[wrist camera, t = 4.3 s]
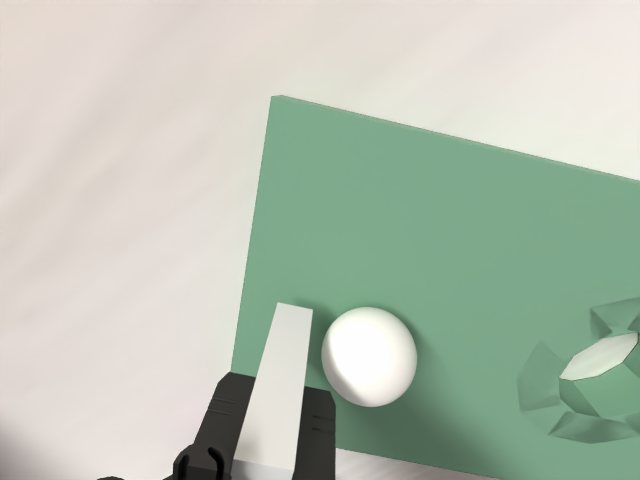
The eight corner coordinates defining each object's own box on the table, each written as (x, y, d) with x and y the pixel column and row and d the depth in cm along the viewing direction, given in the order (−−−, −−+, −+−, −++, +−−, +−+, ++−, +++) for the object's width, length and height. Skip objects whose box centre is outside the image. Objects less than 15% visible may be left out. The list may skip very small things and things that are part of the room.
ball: (315, 348, 17) (309, 419, 13) (333, 281, 15) (333, 341, 12) (392, 363, 17) (407, 438, 14) (418, 299, 16) (443, 364, 12)
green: (234, 391, 22) (222, 426, 20) (281, 95, 15) (271, 96, 12) (610, 464, 23) (640, 505, 21) (828, 226, 16) (910, 249, 14)
